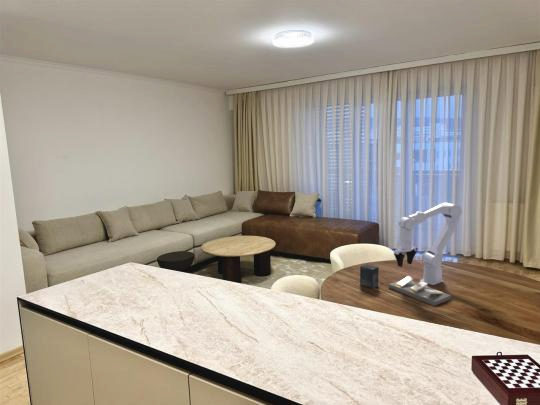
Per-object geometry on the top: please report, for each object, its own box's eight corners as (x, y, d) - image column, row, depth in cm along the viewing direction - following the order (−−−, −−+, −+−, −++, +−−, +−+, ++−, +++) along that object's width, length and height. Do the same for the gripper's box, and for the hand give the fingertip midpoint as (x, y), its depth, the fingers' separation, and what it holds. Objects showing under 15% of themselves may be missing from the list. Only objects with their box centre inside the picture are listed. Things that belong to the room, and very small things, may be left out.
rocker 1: (407, 277, 188) (407, 275, 188) (413, 279, 185) (413, 277, 185) (396, 284, 184) (396, 283, 184) (402, 287, 181) (402, 285, 181)
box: (378, 286, 188) (379, 266, 187) (372, 289, 185) (372, 269, 183) (365, 282, 194) (366, 263, 193) (359, 284, 191) (359, 265, 189)
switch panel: (405, 282, 193) (405, 278, 192) (450, 299, 171) (451, 294, 170) (388, 287, 186) (388, 283, 186) (434, 305, 164) (434, 301, 164)
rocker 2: (421, 282, 182) (421, 281, 181) (427, 284, 179) (427, 283, 178) (409, 289, 177) (409, 287, 177) (416, 291, 174) (416, 290, 174)
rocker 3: (435, 291, 175) (435, 289, 175) (442, 294, 172) (442, 292, 172) (424, 290, 170) (424, 289, 170) (431, 293, 167) (431, 291, 167)
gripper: (408, 236, 194) (407, 260, 196) (390, 240, 187) (389, 265, 189) (419, 239, 188) (418, 264, 190) (401, 243, 181) (400, 269, 183)
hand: (404, 265), depth 189 cm, fingers open, 7 cm apart
